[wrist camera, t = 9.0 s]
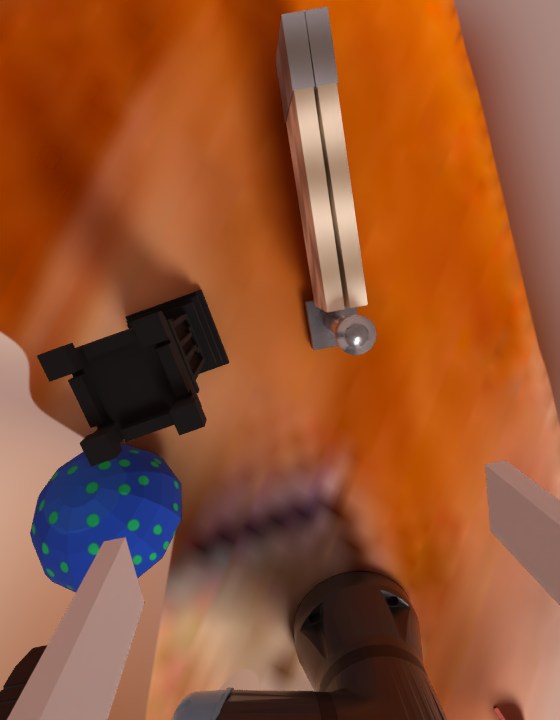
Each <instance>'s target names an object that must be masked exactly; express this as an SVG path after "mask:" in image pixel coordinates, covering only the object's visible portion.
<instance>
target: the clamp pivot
mask: <svg viewBox="0 0 560 720" xmlns="http://www.w3.org/2000/svg"><path fill="white" fill-rule="evenodd" d="M304 304H305V310H306V316H307V322H308V328H309V334H310V340H311V346H312V348H313V350H317V349H322V348H327V347H332V346H339V347H340V348H341V349H342V350H344V351H345V352H347V353H349V354H352V355H360V354H363V353H365V352H367V351H368V350H369V349H371V347H372V346H373V345H374V343H375V340H376V329H375V326H374V324H373V323H372V322H371V321H370V320H369V319H368V318H366V317H364V316H361V315H357V309H356V307H354V308H348V307H345V306H344V307H345V309H344V310H338V311H333V312H325V311H323V310H322V309H320V308H318V307H316V306H315V304H314V299H313V300H308V301H304Z"/></svg>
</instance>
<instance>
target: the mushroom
mask: <svg viewBox="0 0 560 720" xmlns="http://www.w3.org/2000/svg"><path fill="white" fill-rule="evenodd" d="M120 446H121V448H122V451H121V452H120V453H119V455H118V456H117V458H114V459H112V460H109V461H106V462H103V463H100V464H98V465H95V466H92V467H91V466H90V463H89V461H88V459H87V457H86V455H85V453H84V452H82V453H81V454H80V455H78V456H76V457H75V458H73V459H72V460H70V461H69V462H67V463H66V464H64V465H63V466H61V467H60V468H59V469H58V470H57V471H56V472H55V474H54V475H53V477H52V478H51V479H50V481H49V482H48V484H47V485H46V486H45V487H44V489H43V490H42V492H41V493H40V495H39V497H38V500H37V505H36V509H35V514H34V519H33V523H32V528H31V532H30V534H31V538H32V542H33V545H34V547H35V550H36V552H37V555H38V557H39V560H40V562H41V565H42V567H43V570H44V572H45V575H46V576H47V577H48V578H49V579H50V580H51V581H52V582H54V583H56V584H59V585H61V586H63V587H65V588H67V589H69V590H72V591H74V592H77V590H78V588H79V586H80V584H81V583H82V581H83V579H84V577H85V575H86V573H87V572H88V570H89V568H90V566H91V564H92V562H93V561H94V559H95V557H96V555H97V553H98V551H99V549H100V548H101V546H102V544H103V542H104V541H109V540H114V539H119V538H124V537H126V541H127V544H128V548H129V551H130V554H131V558H132V561H133V565H134V568H135V572H136V575H137V578H139V577H140V576H141V575H142V574H143V573H145V572H146V571H147V570H148V569H150V568H151V567H152V566H153V565H154V564H156V563H157V562H158V561H159V560H160V559H162V557H163V556H164V554H165V552H166V550H167V548H168V546H169V543H170V542H171V540H172V538H173V536H174V534H175V532H176V530H177V528H178V526H179V524H180V522H181V520H182V500H181V483H180V481H179V480H178V479H177V477H176V476H175V474H174V473H173V472H172V470H171V469H170V468H169V466H168V465H167V463H166V462H165V461H164V459H162V458H161V457H160V456H159V455H158V454H155V453H152V452H149V451H145V450H142V449H139V448H136V447H132V446H129V445H125V444H121V443H120Z"/></svg>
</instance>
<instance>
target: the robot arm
mask: <svg viewBox="0 0 560 720" xmlns="http://www.w3.org/2000/svg"><path fill="white" fill-rule="evenodd" d="M485 470H486V482H487V494H488V506H489V519H490V531H491V532H492V533H493V534H494V535H495V536H496V537H497V539H498V540H499V541H500V542H501V543H502V544H503V545H504V546H505V547H506V548H507V549H508V550H509V551H510V552H511V554H512V555H513V556H514V557H515V558H516V559H517V560H518V561H519V562H520V563H521V564H522V565H523V566H524V567H525V569H526V570H527V571H528V572H529V573H530V574H531V575H532V576H533V577H534V578H535V579H536V580H537V581H538V583H539V584H540V585H541V586H542V587H543V588H544V589H545V590H546V591H547V592H548V593H549V594H550V595H551V596H552V598H553V599H554V600H555V601H556V602H557V603H558V604H559V605H560V500H559V499H558V498H556V497H555V496H553V495H552V494H551V493H549V492H548V491H547V490H545V489H544V488H543V487H541V486H540V485H538V484H537V483H536V482H534V481H533V480H532V479H530V478H529V477H528V476H526V475H525V474H523V473H522V472H521V471H519V470H518V469H517V468H515V467H514V466H513V465H511V464H510V463H508V462H507V461H506V460H504V461H499V462H495V463H490V464H485ZM144 603H145V602H144V599H143V596H142V592H141V589H140V585H139V582H138V578H137V575H136V572H135V568H134V565H133V561H132V558H131V554H130V551H129V548H128V544H127V541H126V537H124V538H119V539H114V540H109V541H104V542H103V544H102V546H101V548H100V549H99V551H98V553H97V555H96V557H95V559H94V561H93V562H92V564H91V566H90V568H89V570H88V572H87V573H86V575H85V577H84V579H83V581H82V583H81V584H80V586H79V588H78V590H77V592H76V594H75V595H74V597H73V599H72V601H71V603H70V605H69V607H68V608H67V610H66V612H65V614H64V616H63V618H62V619H61V621H60V623H59V625H58V627H57V629H56V630H55V632H54V634H53V636H52V638H51V640H50V642H49V643H48V645H46V646H41V647H36V648H33V649H32V650H31V651H30V652H29V653H28V654H27V655H26V656H25V657H24V658H23V659H22V660H21V661H20V662H19V664H17V665H16V666H15V668H14V670H13V672H12V673H11V675H10V676H9V678H8V680H7V682H6V683H5V685H4V689H3V690H1V692H0V720H107V719H108V716H109V713H110V709H111V706H112V703H113V700H114V697H115V694H116V691H117V688H118V684H119V681H120V678H121V675H122V672H123V669H124V666H125V663H126V659H127V656H128V653H129V650H130V647H131V644H132V641H133V637H134V634H135V631H136V628H137V625H138V622H139V618H140V616H141V612H142V609H143V606H144ZM294 639H295V647H296V652H297V655H298V658H299V661H300V663H301V665H302V667H303V669H304V671H305V673H306V675H307V677H308V679H309V681H310V683H311V684H312V686H313V688H314V690H315V692H313V691H247V690H246V691H245V690H234V688H227V689H226V690H218V691H202V692H194V693H191V694H189V695H188V696H186V697H185V698H184V699H183V700H182V701H181V702H180V704H179V705H178V707H177V709H176V711H175V713H174V715H173V718H172V720H447V718H446V716H445V714H444V712H443V709H442V707H441V705H440V703H439V700H438V698H437V696H436V694H435V692H434V689H433V687H432V685H431V683H430V681H429V678H428V676H427V674H426V672H425V669H424V667H423V658H422V648H421V637H420V627H419V622H418V618H417V615H416V612H415V610H414V608H413V606H412V604H411V602H410V600H409V598H408V596H407V595H406V593H405V592H404V591H403V589H402V588H401V587H400V586H399V585H398V584H396V583H395V582H394V581H392V580H390V579H389V578H387V577H384V576H382V575H379V574H376V573H371V572H348V573H343V574H340V575H336V576H334V577H331V578H329V579H327V580H325V581H323V582H322V583H320V584H319V585H317V586H316V587H315V588H314V589H312V590H311V591H310V592H309V593H308V595H307V596H306V597H305V598H304V599H303V601H302V602H301V604H300V606H299V608H298V610H297V613H296V616H295V620H294Z"/></svg>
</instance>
